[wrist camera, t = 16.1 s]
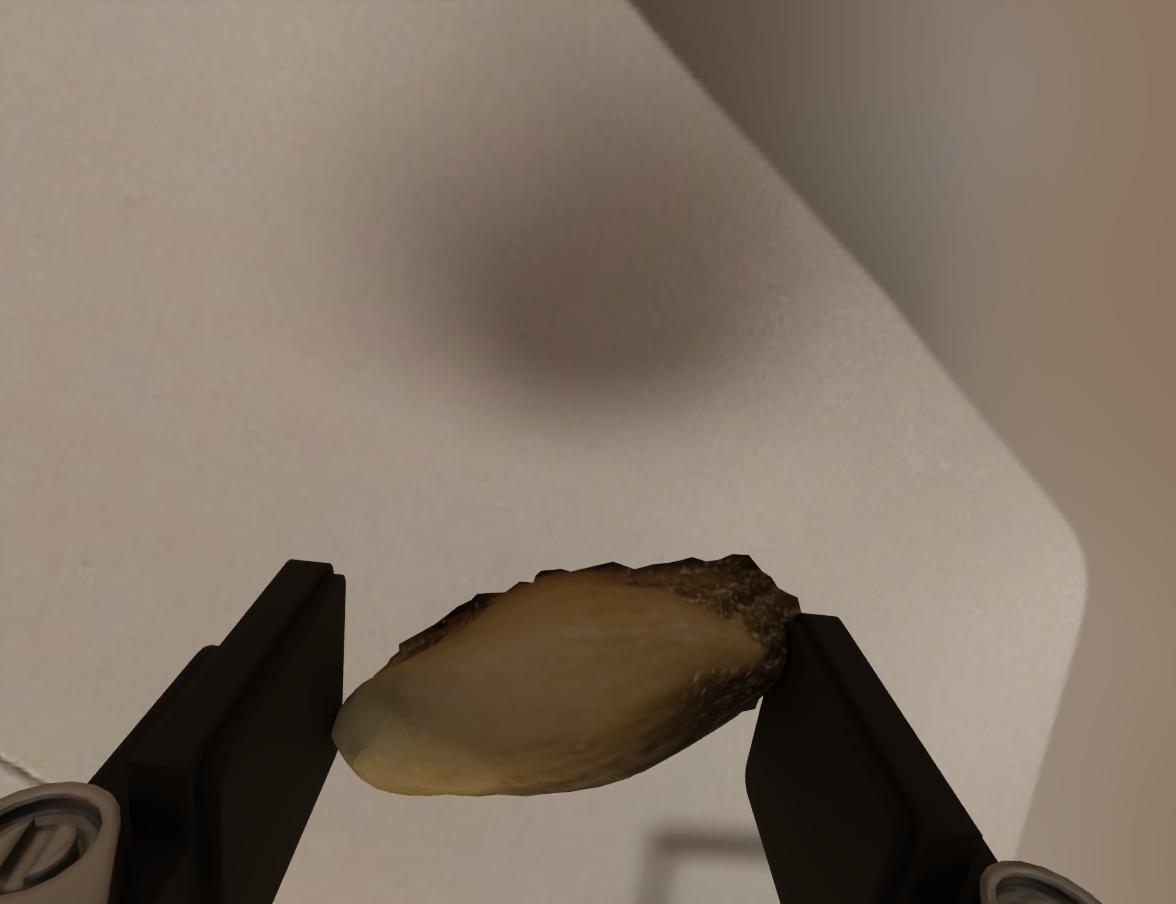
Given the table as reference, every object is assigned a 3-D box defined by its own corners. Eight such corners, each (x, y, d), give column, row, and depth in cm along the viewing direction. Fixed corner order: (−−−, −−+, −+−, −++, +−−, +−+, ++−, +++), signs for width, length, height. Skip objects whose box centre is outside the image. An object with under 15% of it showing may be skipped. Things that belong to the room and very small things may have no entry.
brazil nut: (323, 714, 11) (303, 897, 8) (422, 436, 10) (434, 550, 7) (673, 759, 13) (742, 914, 11) (793, 540, 12) (907, 655, 9)
